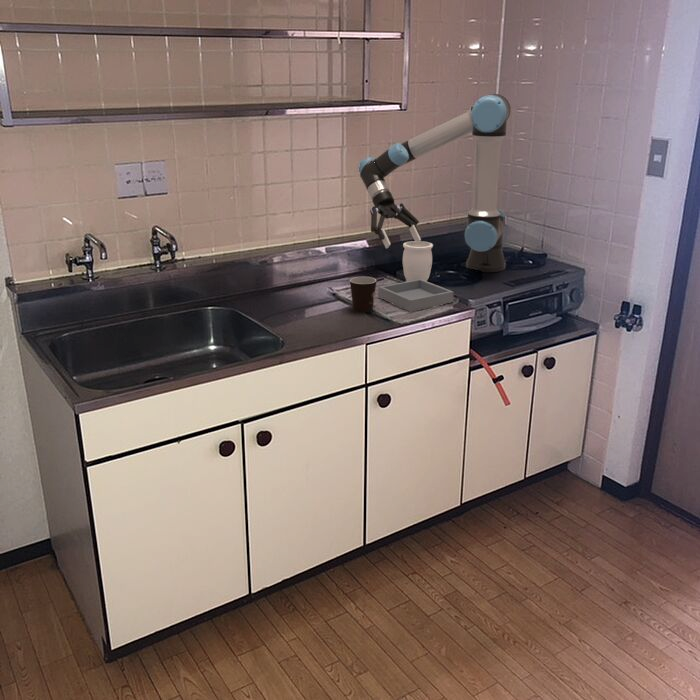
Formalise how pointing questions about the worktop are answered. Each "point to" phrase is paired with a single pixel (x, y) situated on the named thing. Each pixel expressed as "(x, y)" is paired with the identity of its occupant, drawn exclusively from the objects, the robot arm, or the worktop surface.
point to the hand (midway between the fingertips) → (403, 244)
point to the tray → (415, 295)
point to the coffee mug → (363, 293)
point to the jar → (417, 260)
